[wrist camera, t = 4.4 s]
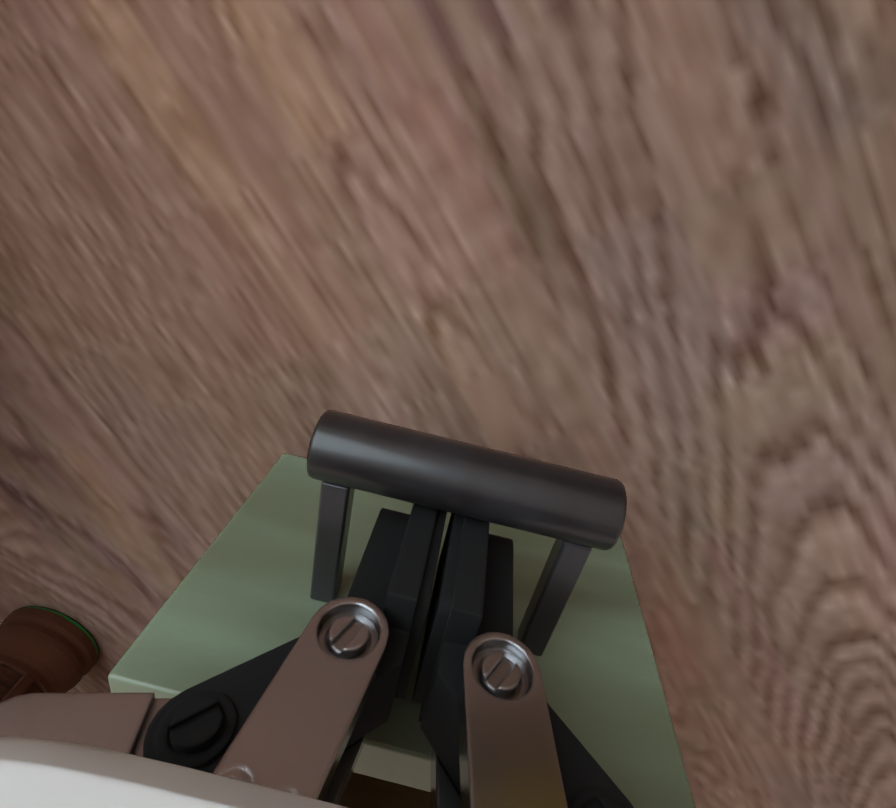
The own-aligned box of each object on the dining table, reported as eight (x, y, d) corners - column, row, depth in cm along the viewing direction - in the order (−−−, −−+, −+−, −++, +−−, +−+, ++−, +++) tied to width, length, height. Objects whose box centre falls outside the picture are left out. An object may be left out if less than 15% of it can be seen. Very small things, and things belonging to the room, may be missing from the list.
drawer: (290, 310, 14) (59, 465, 7) (686, 405, 13) (865, 666, 7) (271, 691, 22) (160, 931, 15) (512, 753, 22) (510, 1024, 15)
